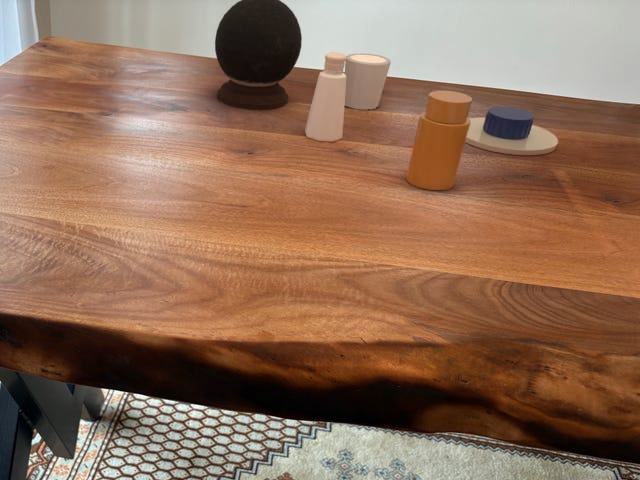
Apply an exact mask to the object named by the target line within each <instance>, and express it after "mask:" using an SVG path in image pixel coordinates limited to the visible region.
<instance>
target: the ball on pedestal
mask: <svg viewBox="0 0 640 480" xmlns="http://www.w3.org/2000/svg"><path fill="white" fill-rule="evenodd" d="M302 40H303V37H302V30H301V26H300V23H299V20H298V18H297V15H296V14H295V13H294V11H293V10H292V9H291V8H290V7H289V5H287V4H286V3H285V2H283V1H282V0H239V1H236V3H235V4H233V5H231V7H229V9H228V10H227V11H226V12H225V13H224V15H222V18H221V20H220V21H219V23H218V26H217V29H216V32H215V39H214V52H215V57H216V60H217V63H218V65H219V67H220V68H221V70H222V72H223V73H224V75H225V76H226V77H228V79H229V80H228V81H226V82H223V83H222V85H220V88H219V89H218V90H217V96H216V99H217V100H218V101H219V102H220V103H222V104H225V105H226V106H230V107H234V108H239V109H245V110H253V111H254V110H255V111H257V110H259V111H261V110H262V111H264V110H274V109H278V108H282V107H284V106H286V105H287V104H288V101H289V95H288V93H287V92H286V89H285V88H284V87H283V86H282V85H280V83H279V82H281V81H282V80H284V79H285V78H287V76H288V75H289V74H290V73H291V72H292V70H293V69H294V67H295V66H296V64H297V62H298V59H299V57H300V54H301V50H302Z"/></svg>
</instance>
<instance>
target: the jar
mask: <svg viewBox="0 0 640 480" xmlns="http://www.w3.org/2000/svg"><path fill="white" fill-rule="evenodd" d="M427 97H428V100H427V104H426V108H425V111H422V112H421V113H420V115H419V119H418V124H417V127H416V132H415V137H414V140H413V144H412V145H413V146H412V149H411V154H410V158H409V162H408V167H407V171H406V176H405V180H406V181H407V183H408V184H410V185H411V186H413V187H417V188H420V189H423V190H428V191H448V190H450V189H452V188H453V187H454V185H455V181H456V178H457V175H458V171H459V167H460V163H461V159H462V155H463V152H464V148H465V145H466V142H465V141H466V138H467V134H468V130H469V126H470V123H471V121H470V118H469V113H470V109H471V105H472V102H473V98H472V97H471V96H470V95H468V94H466V93H462V92H459V91H453V90H452V91H451V90H434V91H431V92H430V93H428V94H427Z"/></svg>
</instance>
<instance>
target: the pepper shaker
mask: <svg viewBox="0 0 640 480" xmlns="http://www.w3.org/2000/svg"><path fill="white" fill-rule="evenodd" d="M346 56H347V55H346V54H344V53H341V52H328V53H325V55H324V59H325V61H324V64H323V65H324V68H323V70H322V71H320V72H319V73H318V74H319V75H318V77H317V81H316V86H315V89H314V93H313V97H312V100H311V101H312V102H311V105H310V109H309V113H308V116H307V121H306V125H305V129H304V133H305V136H306V138H308V139H311V140H314V141H316V142H327V143H329V142H330V143H333V142H336V141H339V140H342V139H343V132H344V120H345V119H344V118H345V107H346V106H345V92H346V75H345V61H346Z"/></svg>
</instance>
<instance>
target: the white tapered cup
mask: <svg viewBox="0 0 640 480" xmlns="http://www.w3.org/2000/svg"><path fill="white" fill-rule="evenodd" d="M345 56H346V60H345V66H344V74H345V75H346V92H345V106H344V107H348V108H350V109H355V110H362V111H363V110H365V111H366V110H368V109H369V110H375V109H377V108H378V107H379V105H380V101H381V97H382V94H383V91H384V87H385V84H386V80H387V77H388V74H389V70H390V67H391V64H392V63H391V62H392V61H391V59H390V58H388V57H386V56H382V55H380V54H374V53H373V54H372V53H351V54H348V55H345ZM376 107H377V108H376Z"/></svg>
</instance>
